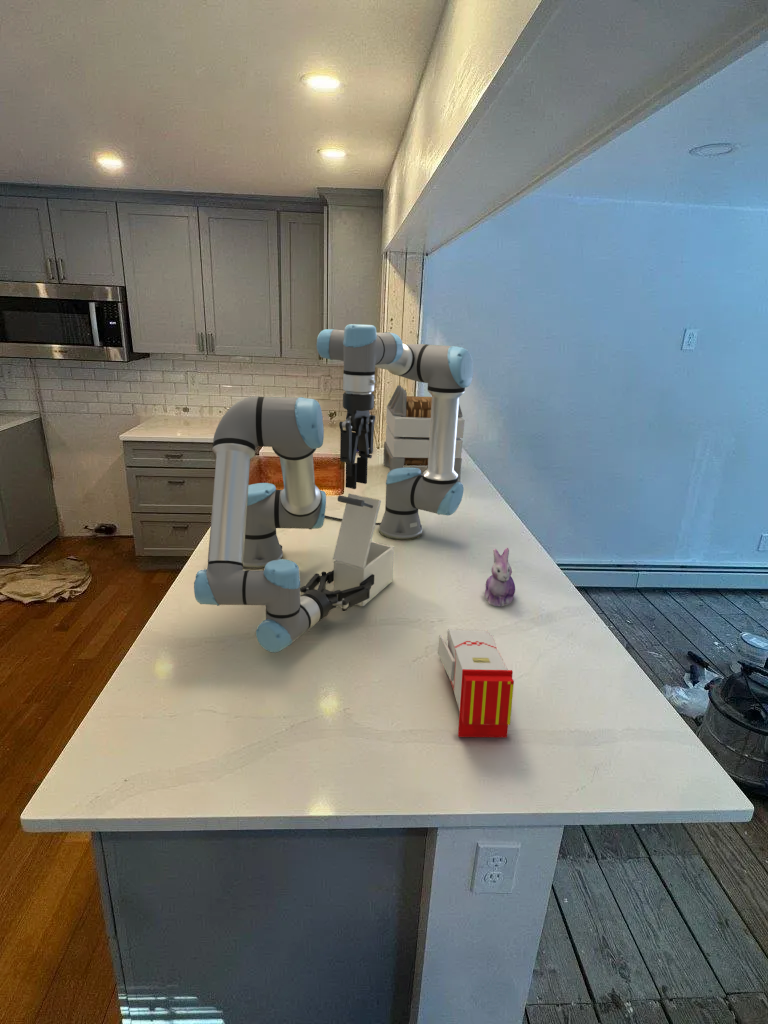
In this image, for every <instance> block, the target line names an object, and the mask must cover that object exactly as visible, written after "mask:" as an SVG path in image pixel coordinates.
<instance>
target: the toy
mask: <svg viewBox="0 0 768 1024" xmlns="http://www.w3.org/2000/svg"><path fill="white" fill-rule="evenodd" d="M446 640H447V643H446V641H445V639H444V636H443V635H442V634H439V637H438V646H437V656H438V657H439V659H440V661H441V663H442V666H443V668H444V670H445V672H446V674H447V677H448V679H449V681H450V684H451V687H452V690H453V693H454V697H455V701H456V705H457V708H458V711H459V714H458V715H459V716H458V730H457V731H458V732H457V737H458V738H508V731H509V726H510V725H511V717H512V707H513V697H514V696H513V695H514V684H515V680H514V679H513V673H514V671H513V670H512V669H508V667H507V665H506V662H505V661H504V659H503V658H502V655H501V653H500V651H499V649H498V647H497V643H496V639H495V637H494V635H493V634H491V632H490V631H489V629H467V628H466V629H465V628H463V629H461V628H460V629H459V628H448V630H447V639H446Z"/></svg>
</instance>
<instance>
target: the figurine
mask: <svg viewBox="0 0 768 1024" xmlns="http://www.w3.org/2000/svg"><path fill="white" fill-rule="evenodd" d="M492 552H493V553H492V554H493V564H492V567H491V569H490V570H491V575H490V576H489V577H488V578H487V579H486V581H485V591H484V599H485V600H486V601H487V603H488V604H489V605H491V606H494V607H504V606H508V605H510V604H511V603H512V602H513V600H514V596H515V593H516V584H515V581H514V579H513V577H512V573H513V570H512V566H511V564H510V562H509V557H510V548H509V547H505V549H504V550H503V552H502V553H501V554H500V552H499V551H498V549H497V548H493V549H492Z"/></svg>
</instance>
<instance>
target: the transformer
mask: <svg viewBox="0 0 768 1024" xmlns="http://www.w3.org/2000/svg"><path fill="white" fill-rule="evenodd" d="M407 394H408V393H407V390H406V389H404V388H403V387H402V385H399V384H398V385H397V386H396V388H395V390H394V392H393V394H392V395H391V398H390V400H389V402H388V404H387V405H386V413H385V414H386V415H385V423H386V428H385V438H384V442H383V466H384V467H388V468H389V472H390V471H391V470H393V469H397V468H405V466H406V467H409V466H411V467H417V466H418V467H428V455H429V438H430V421H431V404H432V396H415V395H414V396H413V395H412V396H411V395H407ZM464 429H465V419H464V418H463V411H462V408H461V405H460V404H459V409H458V422H457V435H456V448H455V461H454V471H455V472H456V473H457V474H458V482H460V483H461V472H462V461H463V460H462V453H463V442H464V441H463V440H462V439H463V438H464V431H465V430H464Z"/></svg>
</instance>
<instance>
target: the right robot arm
mask: <svg viewBox="0 0 768 1024" xmlns="http://www.w3.org/2000/svg"><path fill="white" fill-rule="evenodd" d="M316 351H317V353H318V355H319V356H320V357H321V358H322V359H327V360H330V361H333V360H334V361H342V362H343V373H342V390H343V391H344V392H343V394H342V408H343V409H345V410H346V416H345V420H344V421H339V422H338V427H339V431H340V435H339V436H340V438H339V439H340V441H339V443H340V444H339V447H340V448H339V460H340V462H341V463H345V488H347V489H352V490H356V489H357V483H359V484H364V485H367V484H368V465H369V464H368V463H369V460H368V459H372V458H373V455H372V454H374V437H375V435H374V434H375V433H374V432H375V421H376V415H375V414H374V415H373V414H370V411H372V410H373V409H374V407H375V394H374V393H373V392H374V391H375V384H376V377H375V375H376V369H381V370H386V371H388V372H389V374H391V375H394V376H398V377H402V378H404V379H408V380H410V381H414V382H417V383H424V384H427V392H428V393H429V394H430V395H431V397H432V404H431V421H430V438H429V455H428V466H427V468H426V470H424V471H423V472H422V470H421V468H419V467H413V466H411V467H409V466H406V467H404V468H397V469H393V470H391V471H390V470H389V471H388V472H387V475H386V480H385V504H384V505H385V507H384V508H385V509H384V513H383V515H382V519H381V522H376V524H375V526H378V533H379V534H380V535H381V536H382V537H385V538H387V539H389V540H395V541H410V540H415V539H418V538H420V537H421V536H422V535H423V525H422V524H421V518H420V515H419V510H420V511H425V512H429V513H432V514H436V515H438V516H439V515H442V516H447V517H448V516H452V515H453V514H454V513H456V511H457V510H458V508H459V506H460V504H461V502H462V500H463V496H464V490H465V489H464V484H463V483H462V482H461V481H460V482H458V474H457V473H456V472H455V471H454V461H455V448H456V435H457V422H458V409H459V405H460V398H461V396H462V395H463V394H464V393H466V388H468V387H470V386H471V384H472V382H473V378H474V372H475V371H474V361H473V360H474V359H473V357H472V355H471V353H470V351H469V350H468V348H467V349H466V348H465V347H461V346H456V345H444V344H443V345H441V344H426V343H403V340H402V338H401V337H400V336H399V334H397V333H394V332H387V331H383V332H378V331H377V327H376V326H375V325H373V324H359V323H357V324H355V323H353V324H352V323H350V324H347V325H346V326H345V327H344V329H335V328H330V329H329V328H328V329H322V330H321V331H320V332H319V334H318V335H317V338H316ZM357 444H358V450H359V451H357ZM357 452H358V457H357ZM325 518H326V519H330V520H335V521H341V522H342V519H343V518H339V517H335V516H329V515H325V517H324V519H325Z"/></svg>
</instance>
